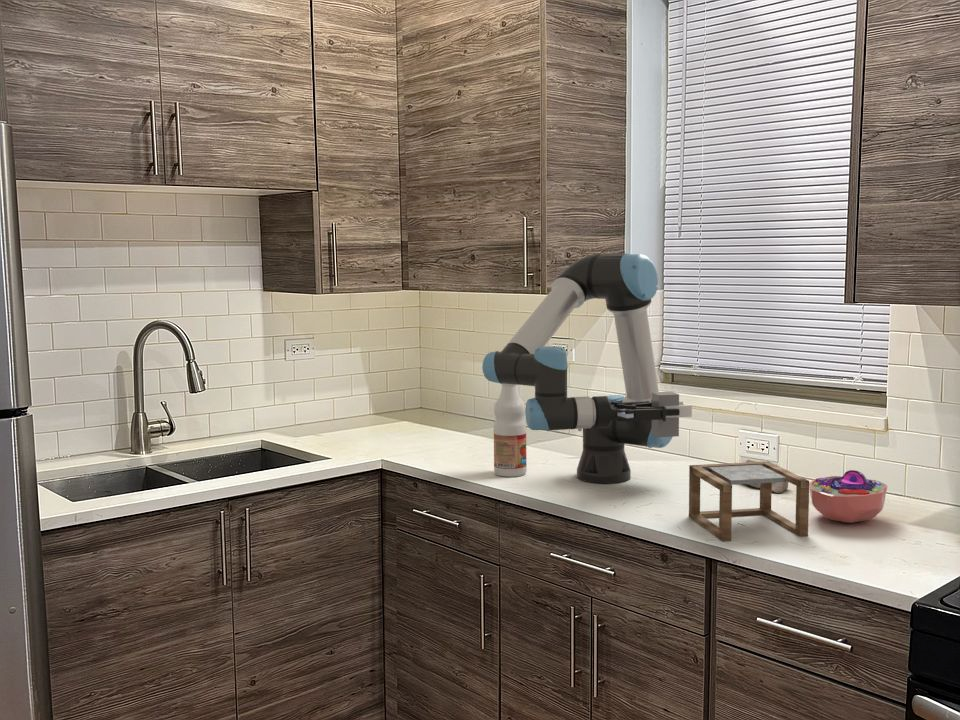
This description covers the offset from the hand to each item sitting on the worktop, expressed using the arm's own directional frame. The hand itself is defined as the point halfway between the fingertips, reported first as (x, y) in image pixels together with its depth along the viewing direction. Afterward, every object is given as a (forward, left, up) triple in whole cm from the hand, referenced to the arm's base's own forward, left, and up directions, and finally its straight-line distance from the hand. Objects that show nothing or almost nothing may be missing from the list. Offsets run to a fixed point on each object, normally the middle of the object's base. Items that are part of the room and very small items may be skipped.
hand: (686, 408), depth 222 cm
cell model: (+11, +35, -26) cm, 45 cm away
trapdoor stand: (+11, +10, -26) cm, 30 cm away
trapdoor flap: (+10, +10, -14) cm, 21 cm away
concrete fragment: (-22, +30, -26) cm, 46 cm away
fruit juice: (-51, -34, -26) cm, 66 cm away
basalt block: (0, -5, -6) cm, 8 cm away
